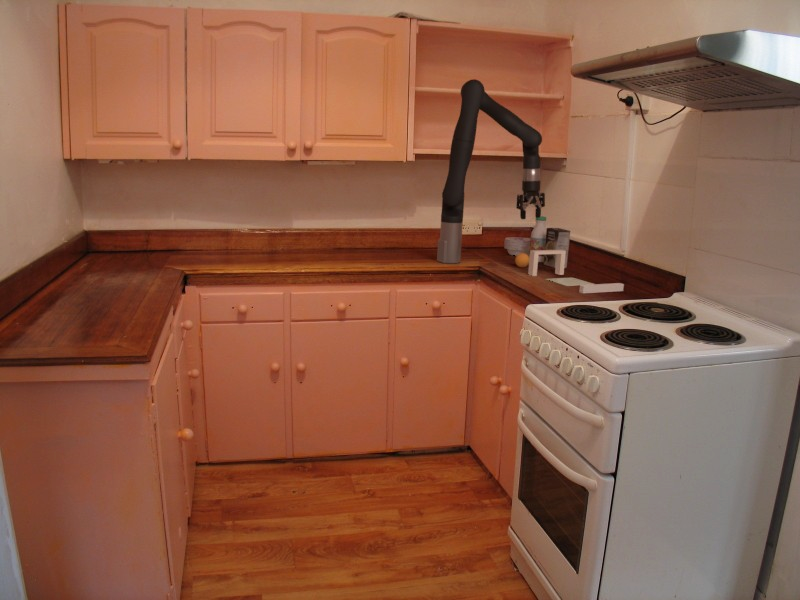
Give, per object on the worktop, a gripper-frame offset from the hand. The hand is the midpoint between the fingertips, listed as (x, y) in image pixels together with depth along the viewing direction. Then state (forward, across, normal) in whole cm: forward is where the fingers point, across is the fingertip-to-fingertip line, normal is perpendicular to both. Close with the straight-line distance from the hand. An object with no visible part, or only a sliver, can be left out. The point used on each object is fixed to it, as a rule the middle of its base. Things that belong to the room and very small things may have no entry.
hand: (530, 218), depth 286 cm
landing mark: (+20, +13, +34) cm, 42 cm away
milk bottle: (+21, -12, -7) cm, 25 cm away
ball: (+17, +7, +3) cm, 19 cm away
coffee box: (+21, -9, +6) cm, 24 cm away
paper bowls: (+21, -16, -23) cm, 35 cm away
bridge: (+20, +10, +20) cm, 30 cm away
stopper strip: (+21, +16, +52) cm, 58 cm away
